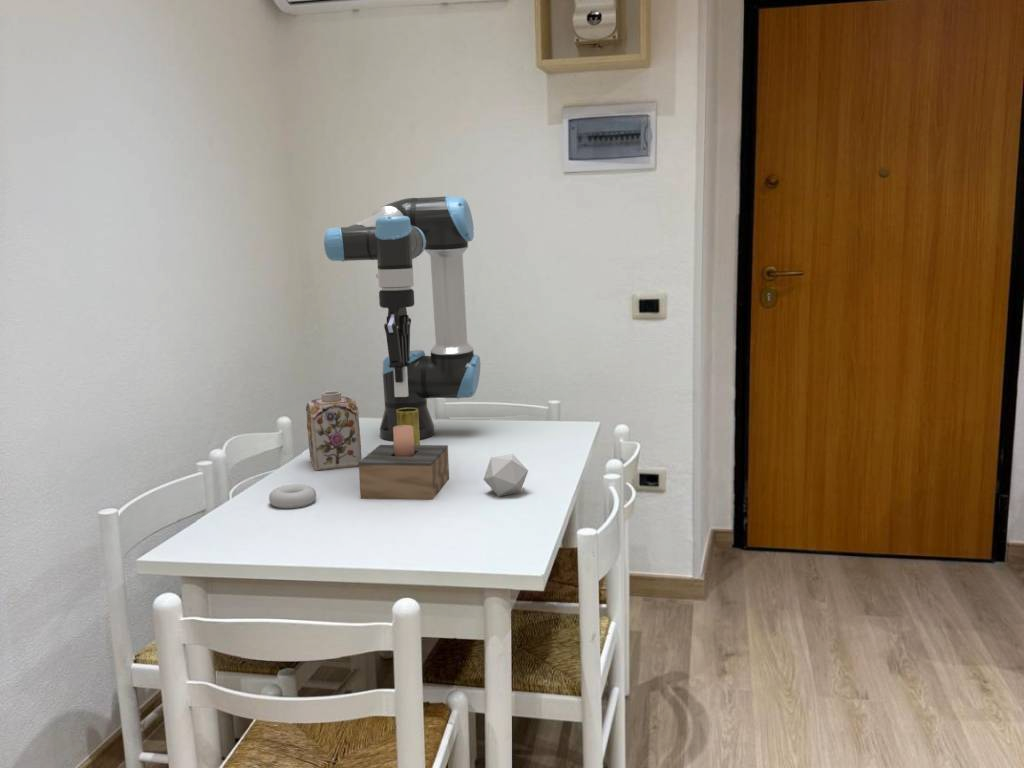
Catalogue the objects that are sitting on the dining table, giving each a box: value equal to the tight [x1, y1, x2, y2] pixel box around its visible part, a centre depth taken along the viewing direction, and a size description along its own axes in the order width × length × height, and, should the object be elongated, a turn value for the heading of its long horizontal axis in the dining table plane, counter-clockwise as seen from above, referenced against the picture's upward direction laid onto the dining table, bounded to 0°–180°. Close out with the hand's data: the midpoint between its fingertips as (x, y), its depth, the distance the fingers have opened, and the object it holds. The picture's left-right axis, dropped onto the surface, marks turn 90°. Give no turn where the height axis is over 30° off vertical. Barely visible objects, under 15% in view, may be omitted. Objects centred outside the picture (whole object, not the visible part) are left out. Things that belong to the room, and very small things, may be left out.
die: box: [483, 453, 529, 497], centre depth 208 cm, size 8×9×10 cm
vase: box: [396, 408, 421, 445], centre depth 231 cm, size 6×6×14 cm
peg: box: [393, 425, 415, 456], centre depth 213 cm, size 4×4×8 cm
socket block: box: [358, 444, 450, 500], centre depth 214 cm, size 16×16×8 cm
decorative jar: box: [305, 390, 362, 472], centre depth 237 cm, size 12×12×18 cm
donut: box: [268, 483, 317, 509], centre depth 206 cm, size 10×3×10 cm
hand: (401, 396), depth 211 cm, fingers closed
